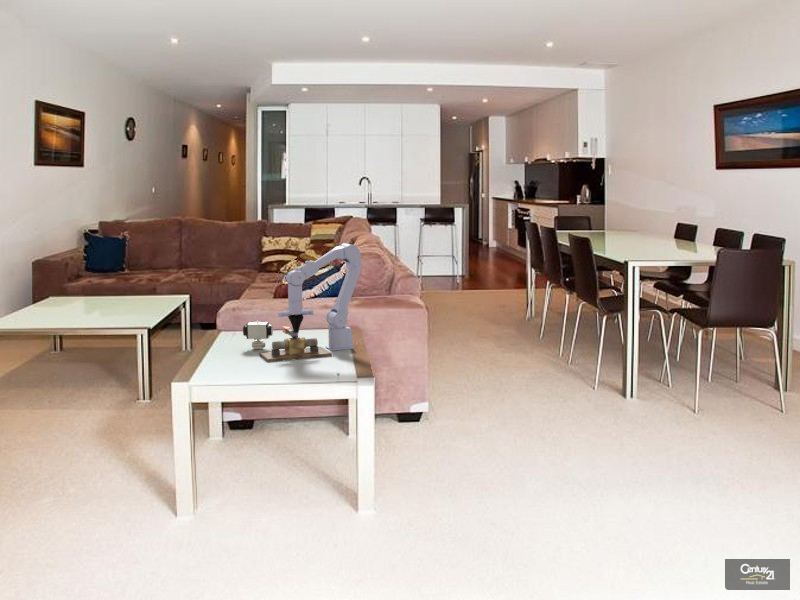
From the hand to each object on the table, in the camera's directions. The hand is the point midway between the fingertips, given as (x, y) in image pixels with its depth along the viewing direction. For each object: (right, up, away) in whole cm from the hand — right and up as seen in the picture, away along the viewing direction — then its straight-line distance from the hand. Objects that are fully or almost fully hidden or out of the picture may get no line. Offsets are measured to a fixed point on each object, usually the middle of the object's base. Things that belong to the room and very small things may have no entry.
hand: (296, 333), depth 327 cm
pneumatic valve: (-17, -7, +9) cm, 20 cm away
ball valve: (0, -9, -5) cm, 10 cm away
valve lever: (-2, -1, 0) cm, 2 cm away
